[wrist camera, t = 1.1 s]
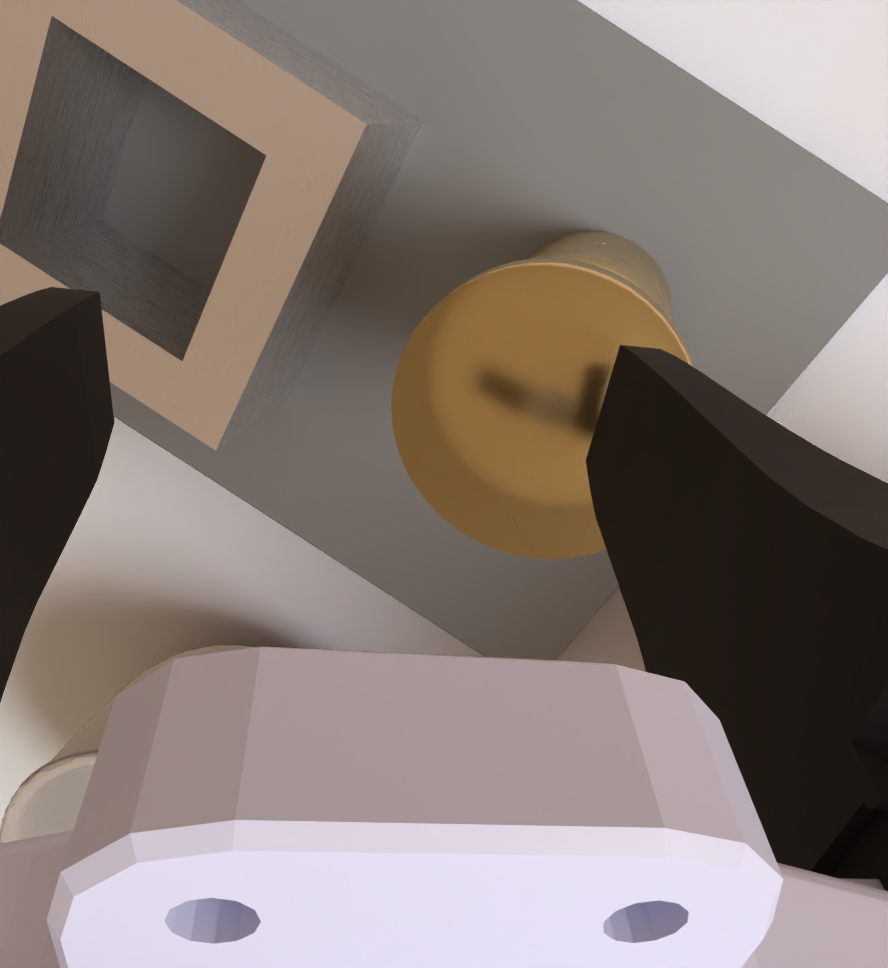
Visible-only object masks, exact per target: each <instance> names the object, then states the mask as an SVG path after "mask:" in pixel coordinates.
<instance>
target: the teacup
mask: <svg viewBox="0 0 888 968" xmlns="http://www.w3.org/2000/svg"><path fill="white" fill-rule="evenodd" d="M248 648H255V647H250V646H241V645H216V646H209V647H202V648H198V649H193V650H189V651H186V652H183V653H180V654H177V655H174V656H172V657H170V658H168V659H166V660H164V661H162V662H160V663H158V664H157V665H155V666H153V667H151V668H150V669H148V670H147V671H145V672H144V673H142V674H141V675H140V676H138V677H137V678H136V679H134V680H133V681H132V682H130V683H129V684H128V685H127V686H126V687H125V688H124V689H123V690H122V691H120V692H119V693H118V694H117V695H116V696H118V695H119V694H121V693H122V692H124V691H125V690H127V689H129V688H130V687H132V686H133V685H135V684H136V683H138V682H139V681H141V680H143V679H144V678H146V677H147V676H149V675H150V674H152V673H154V672H155V671H157V670H158V669H160V668H161V667H163V666H165V665H166V664H168V663H169V662H171V661H172V660H174V659H178V658H183V657H188V656H195V655H203V654H210V653H218V652H225V651H233V650H240V649H248ZM116 696H115V697H116ZM115 697H114V698H113V699H112V700H111V701H109V702H108V703H107V704H106V705H105V706H104V707H103V708H102V709H101V710H100V711H99V712H98V713H97V714H96V715H95V716H94V717H93V718H92V719H91V720H90V721H89V722H88V723H87V724H86V725H85V726H84V727H83V728H82V729H81V730H80V731H79V732H78V733H77V734H76V735H75V736H74V737H73V738H72V739H71V740H70V741H69V742H68V743H67V745H66V746H65V747H64V748H63V749H62V750H61V751H60V752H59V753H58V754H57V755H56V756H55V757H54V758H53V759H52V760H51V761H50V762H48V763H47V764H45V765H43V766H42V767H40V768H39V769H38V770H36V771H35V772H34V773H32V774H31V775H30V776H29V777H28V778H27V779H26V780H25V781H24V782H23V783H22V784H21V785H20V787H19V789H18V790H17V791H16V793H15V794H14V796H13V797H12V799H11V801H10V803H9V805H8V806H7V808H6V810H5V814H4V817H3V819H2V826H1V830H0V843H5V842H11V841H16V840H22V839H27V838H33V837H38V836H44V835H49V834H55V833H60V832H66V831H71V830H74V827H75V824H76V821H77V818H78V815H79V811H80V808H81V805H82V802H83V799H84V795H85V792H86V789H87V786H88V783H89V780H90V776H91V773H92V770H93V767H94V764H95V760H96V757H97V754H98V751H99V748H100V745H101V741H102V738H103V735H104V732H105V729H106V725H107V722H108V719H109V716H110V713H111V710H112V706H113V703H114V700H115Z"/></svg>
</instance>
